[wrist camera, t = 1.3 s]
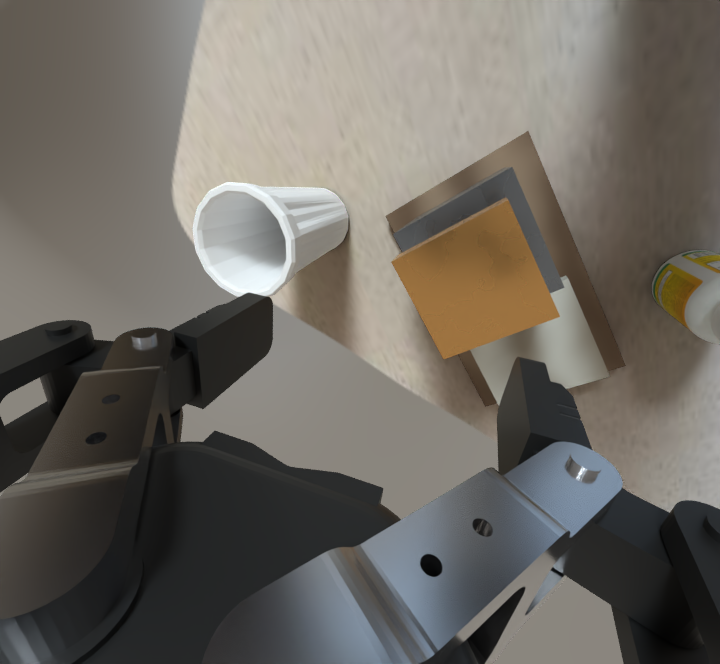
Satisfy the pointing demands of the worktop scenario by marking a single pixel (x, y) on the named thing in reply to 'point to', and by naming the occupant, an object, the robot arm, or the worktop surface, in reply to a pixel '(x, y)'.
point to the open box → (475, 201)
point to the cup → (265, 234)
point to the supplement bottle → (691, 292)
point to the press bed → (574, 302)
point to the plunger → (476, 281)
